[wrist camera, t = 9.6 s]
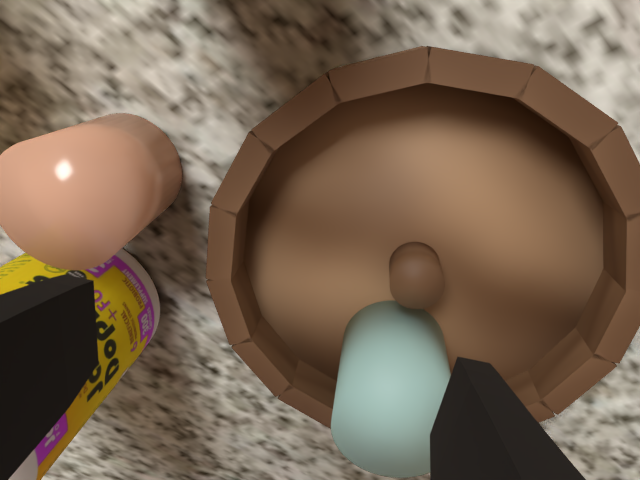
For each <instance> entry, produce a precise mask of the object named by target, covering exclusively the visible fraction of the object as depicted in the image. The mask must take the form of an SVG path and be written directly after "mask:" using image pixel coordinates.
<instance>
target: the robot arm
mask: <svg viewBox="0 0 640 480" xmlns="http://www.w3.org/2000/svg"><path fill="white" fill-rule="evenodd" d="M98 363H99V360H98V344H97V328H96V311H95V295H94V280H89V279H84V278H79V277H75V276H70V275H65V274H64V275H60V276H56V277H52V278H49V279H46V280H42V281H39V282H36V283H33V284H30V285H27V286H24V287H21V288H18V289H15V290H12V291H9V292H6V293H4V294H1V295H0V480H8V479H9V478H10V477H11V476H12V475H13V474H14V472H15V471H16V470H17V469H18V468H19V467H20V465H21V464H22V463H23V462H24V461H25V460H26V458H27V457H28V456H29V455H30V454H31V453H32V451H33V450H34V449H35V448H36V447H37V446H38V444H39V443H40V442H41V441H42V440H43V438H44V437H45V436H46V435H47V434H48V432H49V431H50V430H51V429H52V428H53V426H54V425H55V424H56V423H57V422H58V421H59V419H60V418H61V417H62V416H63V414H64V413H65V412H66V411H67V410H68V408H69V407H70V406H71V404H72V403H73V401H74V400H75V398H76V397H77V395H78V394H79V392H80V391H81V389H82V388H83V386H84V385H85V383H86V382H87V380H88V378H89V377H90V375H91V374H92V372H93V371H94V369H95V367H96V366H97V364H98ZM430 476H431V480H586V479H585V478H584V477H583V476H582V475H581V474H580V472H579V471H578V470H577V469H576V468H575V467H574V466H573V464H572V463H571V462H570V461H569V460H568V458H567V457H566V456H565V455H564V454H563V453H562V451H561V450H560V449H559V448H558V446H557V445H556V444H555V443H554V442H553V440H552V439H551V438H550V437H549V436H548V434H547V433H546V432H545V431H544V429H543V428H542V427H541V426H540V424H539V423H538V422H537V421H536V420H535V418H534V417H533V416H532V414H531V413H530V412H529V411H528V409H527V408H526V407H525V406H524V404H523V403H522V402H521V401H520V399H519V398H518V397H517V396H516V394H515V393H514V392H513V391H512V389H511V388H510V387H509V386H508V384H507V383H506V382H505V380H504V379H503V378H502V377H501V376H500V374H499V373H498V372H497V371H496V369H495V368H494V367H493V366H492V365H491V364H490V363H487V362H482V361H477V360H473V359H468V358H463V357H457V359H456V362H455V365H454V368H453V371H452V374H451V376H450V379H449V382H448V385H447V388H446V391H445V393H444V396H443V399H442V402H441V405H440V407H439V410H438V413H437V416H436V419H435V422H434V424H433V427H432V430H431V433H430Z"/></svg>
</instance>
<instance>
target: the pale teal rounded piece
mask: <svg viewBox="0 0 640 480" xmlns="http://www.w3.org/2000/svg"><path fill="white" fill-rule="evenodd" d="M450 376H451V372H450V367H449V362H448V357H447V352H446V346H445V341H444V336H443V332H442V330H441V328H440V325H439V324H438V322H437V321H436V320H435V319H434V317H433V316H432V315H430V314H429V313H428V312H427V311H425V310H424V309H410V308H406V307H404V306H402V305H400V304H399V303H398V302H397V301H392V300H389V301H381V302H377V303H373V304H371V305H368V306H366V307H364V308H363V309H361V310H360V311H358V312H357V313H356V314H355V315H354V316H353V317H352V318H351V319H350V321H349V322H348V324H347V326H346V328H345V332H344V336H343V343H342V350H341V357H340V364H339V371H338V377H337V384H336V391H335V398H334V405H333V412H332V419H331V432H332V436H333V439H334V442H335V444H336V446H337V447H338V449H339V450H340V451H341V453H342V454H343V455H344V456H345V457H346V458H347V459H348V460H349V461H351V462H352V463H353V464H355V465H356V466H358V467H360V468H362V469H364V470H366V471H368V472H371V473H374V474H377V475H381V476H386V477H394V478H408V477H416V476H420V475H424V474H427V473H430V433H431V430H432V427H433V424H434V422H435V419H436V416H437V413H438V410H439V407H440V405H441V402H442V399H443V396H444V393H445V391H446V388H447V385H448V382H449V379H450Z"/></svg>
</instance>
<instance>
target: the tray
mask: <svg viewBox="0 0 640 480" xmlns="http://www.w3.org/2000/svg"><path fill="white" fill-rule="evenodd" d="M617 124H618V122H616V121H615V120H613V119H612V118H611V117H609V116H608V115H606V114H605V113H604V112H602V111H601V110H599V109H598V108H597V107H595V106H594V105H592V104H591V103H590V102H588V101H587V100H585V99H584V98H582V97H581V96H580V95H578V94H577V93H575V92H574V91H573V90H571V89H570V88H568V87H567V86H566V85H564V84H563V83H561V82H560V81H559V80H557V79H556V78H554V77H553V76H552V75H550V74H549V73H547V72H546V71H544V70H543V69H542V68H540V67H539V66H534V64H528V63H522V62H517V61H511V60H505V59H499V58H494V57H488V56H482V55H476V54H470V53H464V52H459V51H453V50H447V49H441V48H435V47H430V46H427V47H424V46H421V47H417V48H413V49H409V50H405V51H401V52H397V53H393V54H389V55H385V56H379V57H375V58H372V59H369V60H365V61H361V62H357V63H353V64H349V65H345V66H341V67H337V68H334V69H332V70H330V71H328V72H326V73H325V74H323V75H322V76H321V77H319V78H318V79H317V80H315V81H314V82H313V83H312V84H310V85H309V86H308V87H306V88H305V89H304V90H302V91H301V92H300V93H299V94H297V95H296V96H295V97H293V98H292V99H291V100H289V101H288V102H287V103H286V104H284V105H283V106H282V107H280V108H279V109H278V110H276V111H275V112H274V113H272V114H271V115H270V116H269V117H267V118H266V119H265V120H263V121H262V122H261V123H259V124H258V125H257V126H256V127H254V128H253V129H252V131H250V132H249V133H248V135H247V137H246V139H245V141H244V142H243V144H242V146H241V148H240V150H239V152H238V154H237V155H236V157H235V159H234V161H233V163H232V165H231V167H230V169H229V170H228V172H227V174H226V176H225V178H224V180H223V182H222V184H221V185H220V187H219V189H218V191H217V193H216V195H215V197H214V198H213V200H212V202H211V204H212V205H211V206H210V214H209V231H208V248H207V266H206V279H208V280H207V281H206V282H207V285H208V288H209V290H210V293H211V296H212V299H213V301H214V304H215V307H216V309H217V312H218V315H219V317H220V320H221V323H222V325H223V328H224V331H225V333H226V336H227V339H228V342H229V344H230V345H232V344H233V345H232V349H233V350H234V351H235V352H236V353H237V354H238V355H239V356H240V358H241V359H242V360H243V361H244V362H245V363H246V364H247V365H248V367H249V368H250V369H251V370H252V371H253V372H254V373H255V374H256V375H257V377H258V378H259V379H260V380H261V381H262V382H263V383H264V384H265V386H266V387H267V388H268V389H269V390H270V391H271V392H272V393H273V395H274V396H275V397H276V396H278V395H279V397H278V399H279V400H281V401H283V402H284V403H286V404H288V405H290V406H292V407H293V408H295V409H297V410H299V411H300V412H302V413H304V414H306V415H307V416H309V417H311V418H313V419H315V420H316V421H318V422H320V423H322V424H323V425H325V426H327V427H329V428H330V429H331V419H332V412H333V405H334V398H335V391H336V384H337V377H338V371H339V364H340V357H341V350H342V343H343V336H344V332H345V328H346V326H347V324H348V322H349V321H350V319H351V318H352V317H353V316H354V315H355V314H356V313H357V312H358V311H360V310H361V309H363V308H364V307H366V306H368V305H371V304H373V303H377V302H381V301H389V300H392V301H397V302H398V303H399V304H400V305H402V306H404V307H406V308H410V309H424V310H425V311H427V312H428V313H429V314H430V315H432V316H433V317H434V319H435V320H436V321H437V322H438V324H439V325H440V328H441V330H442V332H443V336H444V341H445V346H446V352H447V357H448V362H449V367H450V372H451V374H452V371H453V368H454V365H455V362H456V359H457V357H463V358H468V359H473V360H477V361H482V362H487V363H490V364H491V365H492V366H493V367H494V368H495V369H496V371H497V372H498V373H499V374H500V376H501V377H502V378H503V379H504V380H505V382H506V383H507V384H508V386H509V387H510V388H511V389H512V391H513V392H514V393H515V394H516V396H517V397H518V398H519V399H520V401H521V402H522V403H523V404H524V406H525V407H526V408H527V409H528V411H529V412H530V413H531V414H532V416H533V417H534V418H535V420H536V421H537V422H541V421H544V420H546V419H549V418H552V417H554V413H556V414H559V413H561V412H562V411H563V410H564V409H565V408H567V407H568V406H569V405H570V404H572V403H573V402H574V401H575V400H576V399H578V398H579V397H580V396H581V395H582V394H584V393H585V392H586V391H587V390H589V389H590V388H591V387H592V386H593V385H595V384H596V383H597V382H598V381H600V380H601V379H602V378H603V377H604V376H606V375H607V374H608V373H609V372H611V371H612V370H613V369H614V368H615V367H617V366H616V364H615V363H620V361H621V359H622V358H623V356H624V354H625V352H626V350H627V348H628V347H629V345H630V343H631V341H632V339H633V337H634V336H635V334H636V332H637V330H638V328H639V326H640V164H639V162H638V160H637V157H636V155H635V153H634V151H633V149H632V147H631V145H630V143H629V141H628V139H627V137H626V135H625V133H624V131H623V129H622V127H621V126H619V125H617ZM553 412H554V413H553Z"/></svg>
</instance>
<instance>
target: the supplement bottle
mask: <svg viewBox="0 0 640 480" xmlns="http://www.w3.org/2000/svg"><path fill="white" fill-rule="evenodd" d="M64 274H65V275H70V276H75V277H79V278H84V279H89V280H94V295H95V311H96V328H97V344H98V360H99V363H98V364H97V366H96V367H95V369H94V371H93V372H92V374H91V375H90V377H89V378H88V380H87V382H86V383H85V385H84V386H83V388H82V389H81V391H80V392H79V394H78V395H77V397H76V398H75V400H74V401H73V403H72V404H71V406H70V407H69V408H68V410H67V411H66V412H65V413H64V414H63V416H62V417H61V418H60V419H59V421H58V422H57V423H56V424H55V425H54V426H53V428H52V429H51V430H50V431H49V432H48V434H47V435H46V436H45V437H44V438H43V440H42V441H41V442H40V443H39V444H38V446H37V447H36V448H35V449H34V450H33V451H32V453H31V454H30V455H29V456H28V457H27V458H26V460H25V461H24V462H23V463H22V464H21V465H20V467H19V468H18V469H17V470H16V471H15V472H14V474H13V475H12V476H11V477H10V478H9V479H8V480H41V479H42V477H43V476H44V475H45V473H46V472H47V471H48V470H49V468H50V467H51V466H52V465H53V463H54V462H55V461H56V460H57V458H58V457H59V456H60V454H61V453H62V452H63V451H64V449H65V448H66V447H67V446H68V444H69V443H70V442H71V441H72V439H73V438H74V437H75V436H76V434H77V433H78V432H79V431H80V429H81V428H82V427H83V426H84V424H85V423H86V422H87V420H88V419H89V418H90V417H91V415H92V414H93V413H94V412H95V410H96V409H97V408H98V407H99V405H100V404H101V403H102V402H103V400H104V399H105V398H106V397H107V395H108V394H109V393H110V392H111V390H112V389H113V388H114V387H115V385H116V384H117V382H118V381H119V380H120V379H121V378H122V376H123V375H124V374H125V373H126V371H127V370H128V369H129V368H130V366H131V365H132V364H133V363H134V361H135V360H136V359H137V357H138V356H139V355H140V354H141V352H142V351H143V350H144V349H145V347H146V346H147V345H148V343H149V342H150V340H151V339H152V337H153V336H154V334H155V332H156V330H157V327H158V323H159V318H160V302H159V297H158V294H157V290H156V288H155V285H154V283H153V281H152V280H151V278H150V276H149V275H148V273H147V272H146V271H145V269H144V268H143V267H142V266H141V264H140V263H139V262H138V261H137V260H136V259H135V258H134V257H133V256H131V255H130V254H129V253H128V252H126V251H125V250H124V249H122V248H121V249H120V250H119V251H118V252H117V253H116V254H115V255H113V256H112V257H111V258H110V259H109V260H107V261H106V262H105V263H103V264H101V265H99V266H96V267H94V268H90V269H86V270H66V269H60V268H56V267H53V266H50V265H47V264H45V263H43V262H41V261H38V260H36V259H35V258H33V257H32V256H30V255H28V254H27V253H24V254H23V255H21V256H19V257H17V258H16V259H14V260H12V261H10V262H9V263H7V264H5V265H3V266H2V267H0V295H1V294H4V293H6V292H9V291H12V290H15V289H18V288H21V287H24V286H27V285H30V284H33V283H36V282H39V281H42V280H46V279H49V278H52V277H56V276H60V275H64Z"/></svg>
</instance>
